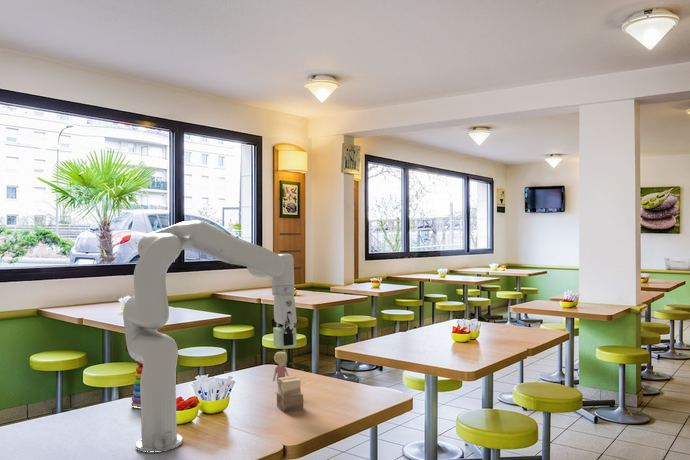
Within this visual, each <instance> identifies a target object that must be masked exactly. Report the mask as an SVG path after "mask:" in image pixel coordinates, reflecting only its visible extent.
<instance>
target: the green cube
mask: <svg viewBox="0 0 690 460" xmlns="http://www.w3.org/2000/svg"><path fill="white" fill-rule="evenodd" d="M287 327H288V326H286V329H287ZM272 329H273V330H272V331H273V332H272V333H273V346H274V347H277V348H278V349H286V348H293V347H297V341H298V340H297V328H296V327H293V345H288V346H284V337H283V334H285V333H284V327H272Z"/></svg>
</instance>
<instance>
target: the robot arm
mask: <svg viewBox="0 0 690 460" xmlns="http://www.w3.org/2000/svg"><path fill="white" fill-rule="evenodd" d="M186 249H193V250H196V251H199V252H200V253H203V254H206V255H208V256H210V257H212V258H214V259H216V260H218V261H220V262H223V263H225V264H230V265H237V266H242V267H246V268H247V271H248V273H249V274H251V275H252V276H254V277H256V278H269V279H271V294H272V296H273V318H274V322H275V325H276V327H284V333H285V334H283V337H284V346H288V345H293V327H294V326H295V325H296V324H297V322H298V321H297V308H296V307H297V306H296V300H295V295H296V294H295V267H294V266H295V264H294V256H293V255H292V254H291V253H276V252H273V251H271V250H270V249H268V248H265V247H263V246H260V245H258V244H255V243H252V242H249V241H247V240H243V239H242V238H238V237H236V236H233V235H231V234H230V233H227V232H225V231H223V230H222V229H219V228H217V227H215V226H213V225H211V224H209V223H208V222H205V221H202V220H187V221H186V220H185V221H181V222H178V223H176V224H172V225H169V226H168V227H165V228H161V229H159V230H155V231H152V232H149V233H147V234H145V235H144V236H142V238H140V240H139V241H138V244H137V253H138V256H139V258H138V260H137V262H136V264H135V267H134V269H133V270H134V271H133V293H134V295H132V296H130V297H129V299H127V300H126V302H125V304H124V307H123V312H122V314H123V315H122V317H123V318H122V320H123V328H124V334H125V342H126V343H125V344H126V349H127V352H128V354H129V356H130V357H131V358H132V359H133V360H134V361H135V362H136V361H138V362H140V363H143V369H142V374H141V380H140V392H141V409H140V418H141V420H140V423H141V424H140V425H141V427H140V429H141V430H140V431H141V438H139V439H138V440H137V442H136V443H135V449H136V448H137V449H139V450H141V451H146V452H147V451H148V452H150V451H154V452H155V451H164V452H166V451H165V450H169V451H171V450H170V449H172V450H174V449H176V448H178V447H180V446H181V445H182V444H183V440H184V439H183V436H182V435H180V434H178V431H177V430H178V426H177V425H178V424H177V421H178V420H177V388H176V387H177V383H176V381H177V380H176V379H177V378H176V376H177V375H176V371H177V364H178V357H179V349H178V344H177V342H176V341H175V339H173V337H172V336H170V335H168V334H166V333H163V332H159V331H158V330H159V329H161V328H163V327H164V326H165V325H166V324H167V323H168V320H169V318H170V308H169V299H168V294H167V292H168V291H167V281H166V277H167V272H168V269H169V268H170V266H171V265H172V264H173V262H174V261H175V260H176V259H178V257H179V256H180V255H181V252H182V251H183V250H186ZM286 326H288V327H287V329H286ZM276 327H275V328H276ZM294 328H295V327H294ZM179 445H180V446H179ZM175 447H176V448H175ZM173 448H174V449H173ZM137 449H136V450H137Z"/></svg>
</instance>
